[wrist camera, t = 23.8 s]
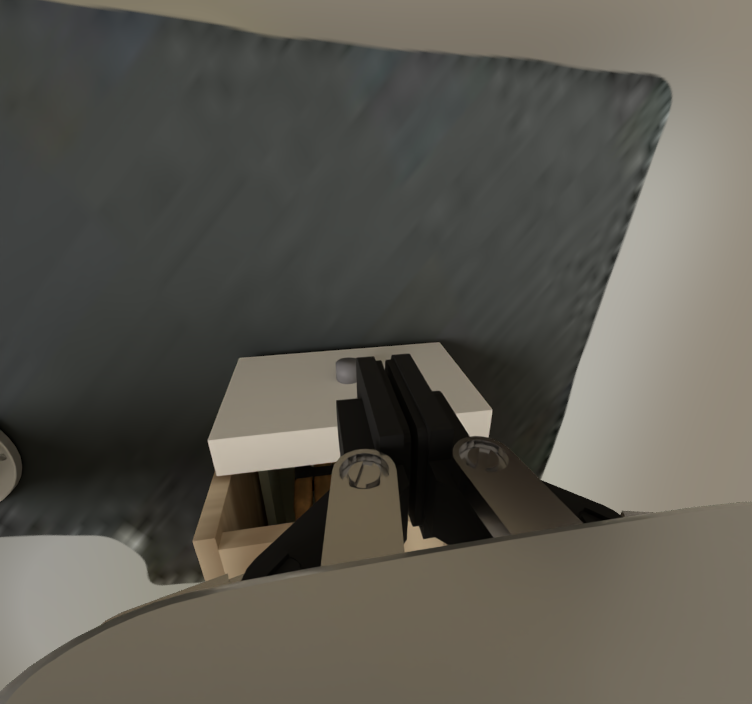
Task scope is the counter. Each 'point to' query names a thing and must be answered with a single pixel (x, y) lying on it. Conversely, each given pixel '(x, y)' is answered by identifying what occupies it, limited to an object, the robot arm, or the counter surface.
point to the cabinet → (249, 527)
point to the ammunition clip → (310, 485)
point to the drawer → (314, 413)
